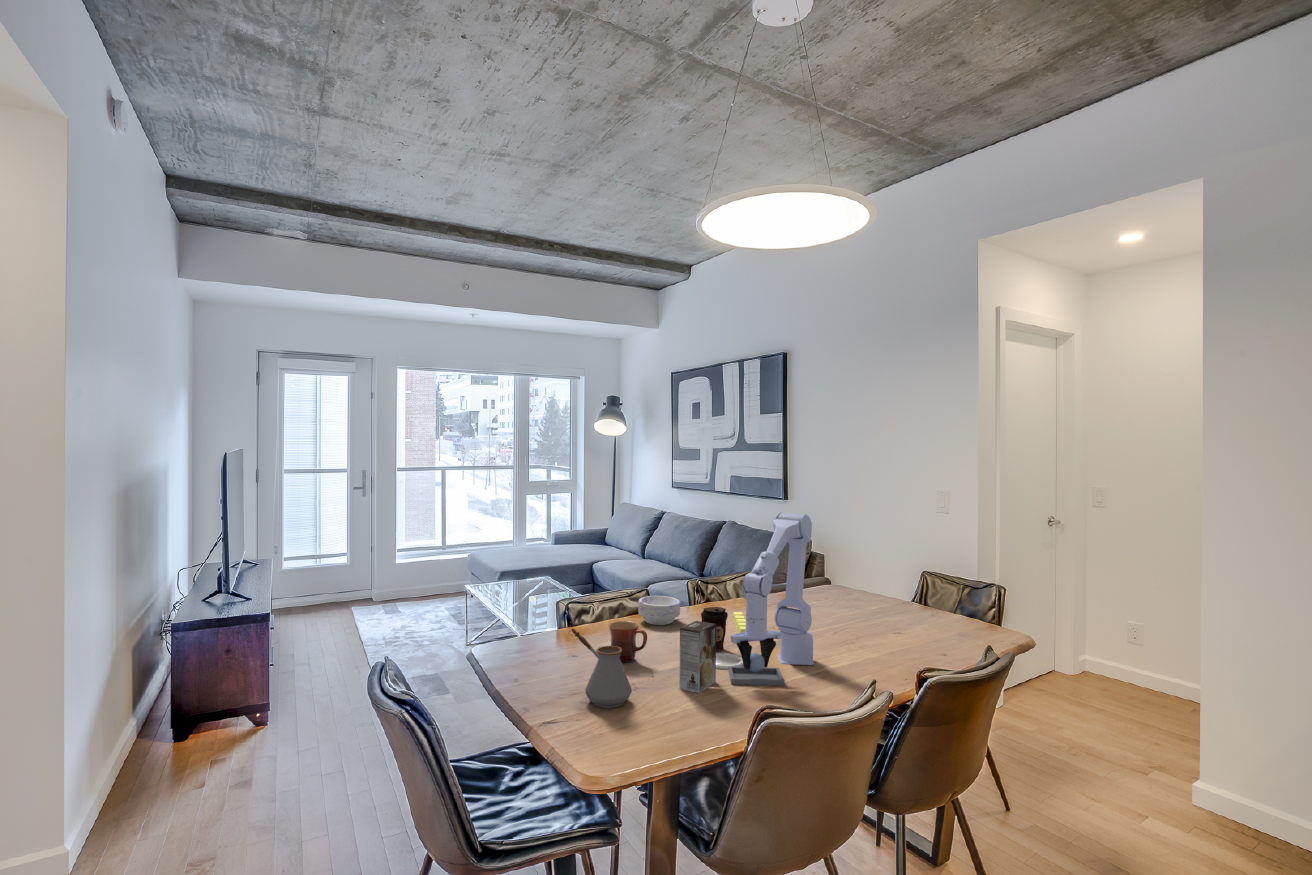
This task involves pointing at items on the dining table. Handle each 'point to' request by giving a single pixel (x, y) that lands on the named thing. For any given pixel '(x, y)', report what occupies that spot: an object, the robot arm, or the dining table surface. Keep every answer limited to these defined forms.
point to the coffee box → (697, 656)
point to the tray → (755, 676)
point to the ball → (756, 662)
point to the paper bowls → (659, 609)
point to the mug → (626, 639)
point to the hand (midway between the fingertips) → (755, 667)
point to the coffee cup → (718, 618)
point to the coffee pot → (607, 677)
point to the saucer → (728, 660)
